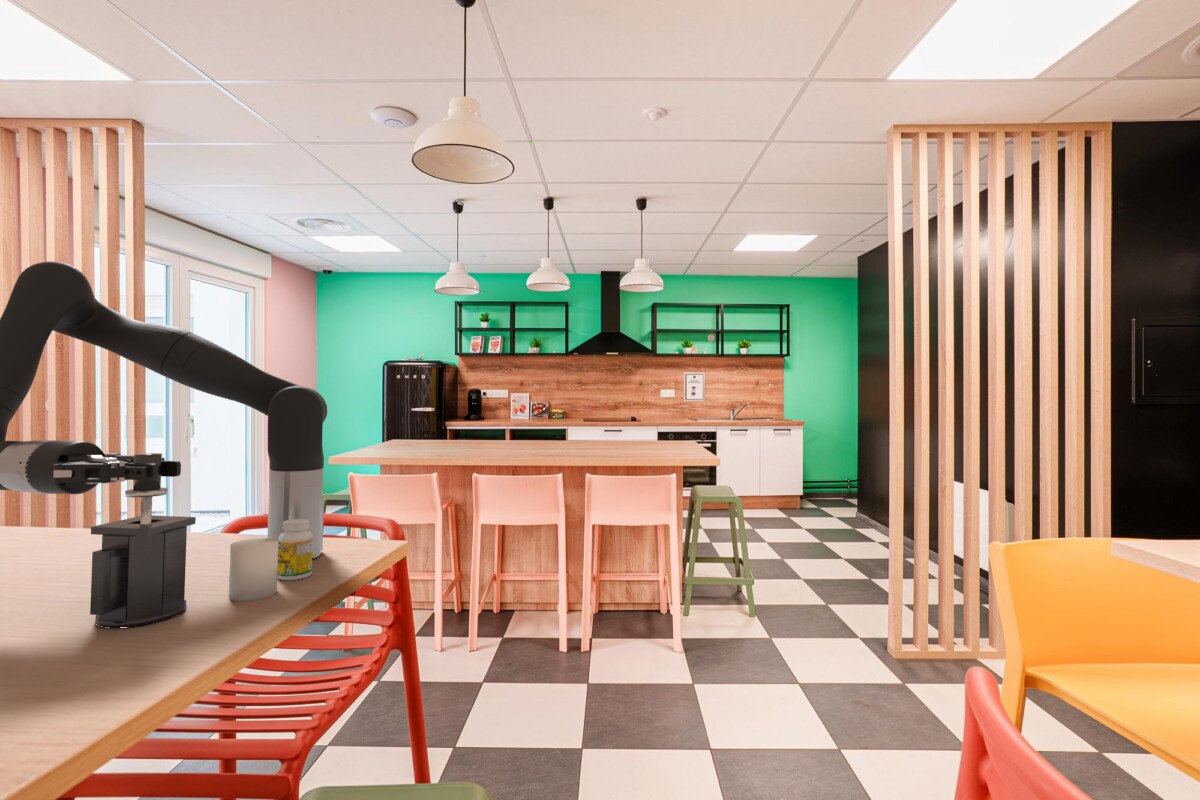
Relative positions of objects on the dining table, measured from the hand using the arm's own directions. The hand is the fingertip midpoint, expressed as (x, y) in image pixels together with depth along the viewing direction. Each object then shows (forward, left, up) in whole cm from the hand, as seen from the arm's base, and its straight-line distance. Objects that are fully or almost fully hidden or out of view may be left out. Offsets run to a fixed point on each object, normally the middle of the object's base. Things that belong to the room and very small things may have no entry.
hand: (167, 470), depth 77 cm
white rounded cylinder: (-10, +6, -20) cm, 23 cm away
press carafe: (0, -3, -20) cm, 20 cm away
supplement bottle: (-19, +7, -20) cm, 29 cm away
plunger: (0, -3, -19) cm, 19 cm away
